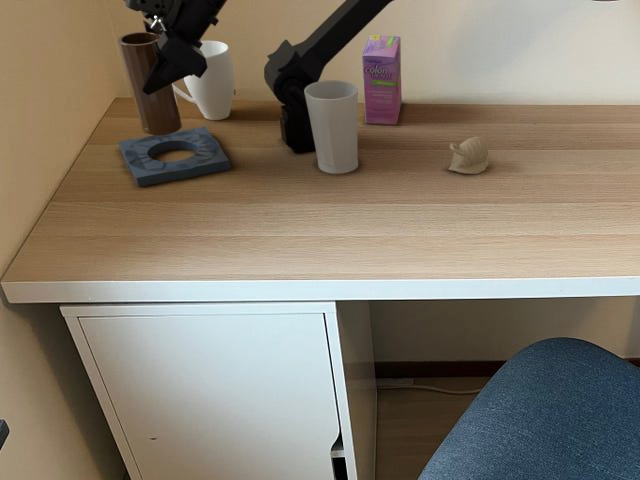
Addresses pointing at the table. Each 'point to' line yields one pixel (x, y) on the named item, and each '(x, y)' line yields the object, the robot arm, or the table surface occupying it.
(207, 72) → the mug
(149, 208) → the table surface
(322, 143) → the cup
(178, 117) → the brown tumbler
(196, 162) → the ring plate
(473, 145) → the decorative ornament
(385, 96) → the box
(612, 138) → the table surface
